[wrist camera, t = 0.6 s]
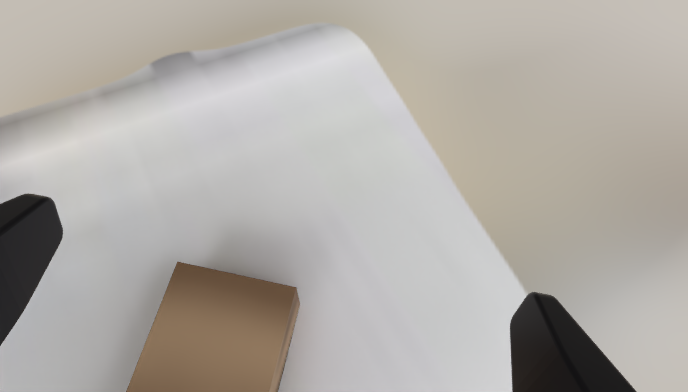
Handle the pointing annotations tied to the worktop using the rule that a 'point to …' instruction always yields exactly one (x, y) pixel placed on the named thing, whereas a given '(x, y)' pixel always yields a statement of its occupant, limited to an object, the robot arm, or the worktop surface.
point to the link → (217, 334)
